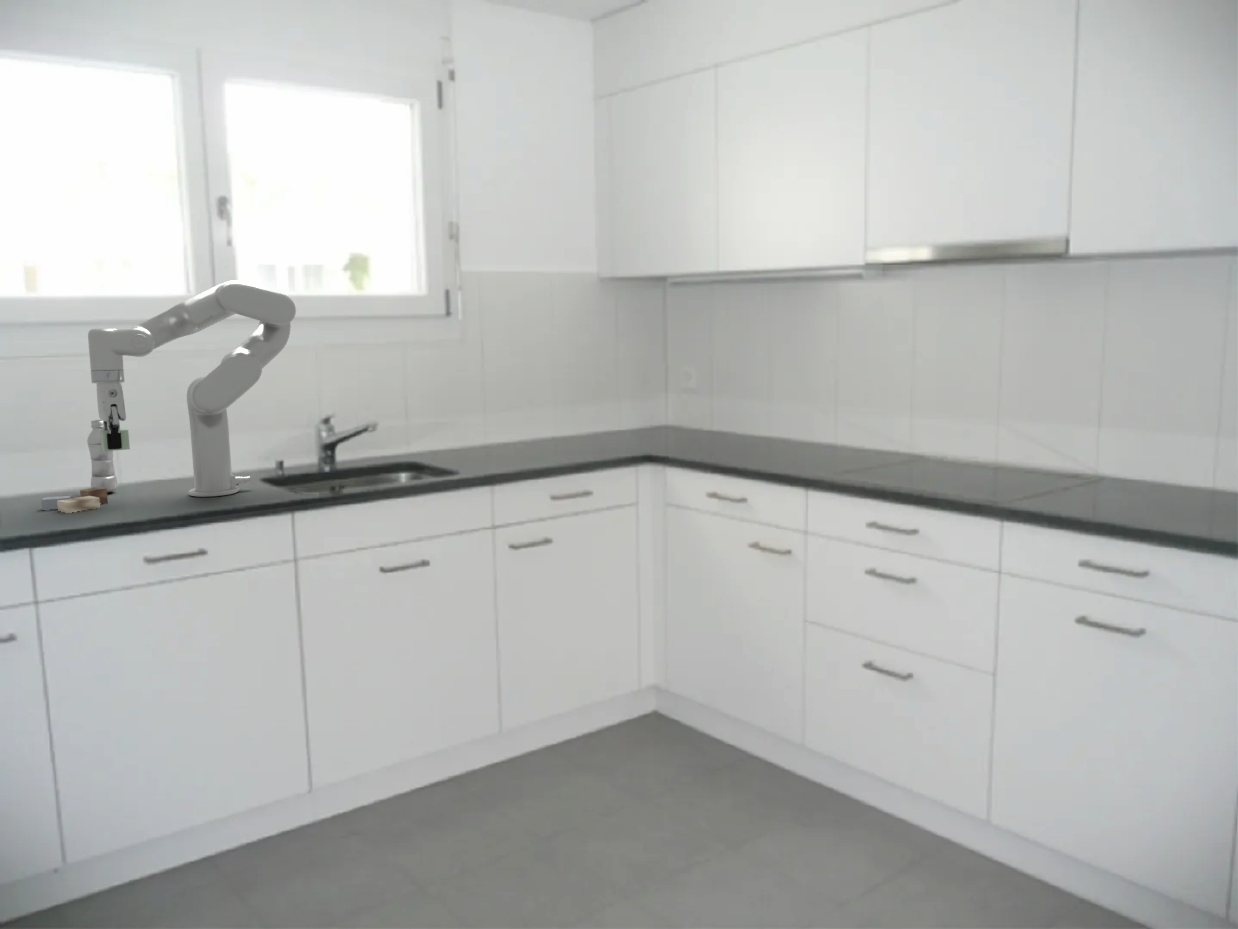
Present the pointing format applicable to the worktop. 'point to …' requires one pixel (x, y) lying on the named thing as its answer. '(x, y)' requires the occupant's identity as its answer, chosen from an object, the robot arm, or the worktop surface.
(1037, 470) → the worktop surface
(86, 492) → the walnut brick
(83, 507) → the birch brick
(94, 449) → the plastic bottle
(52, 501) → the slate brick
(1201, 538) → the worktop surface
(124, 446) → the sage brick
